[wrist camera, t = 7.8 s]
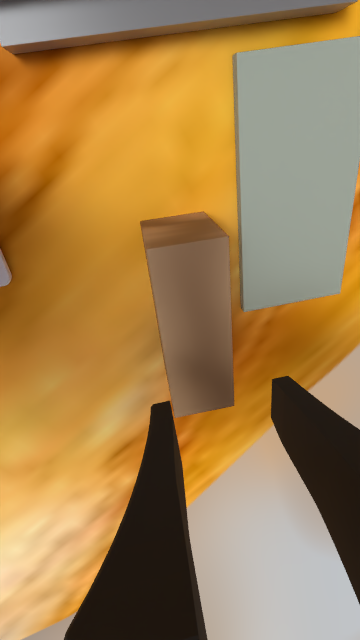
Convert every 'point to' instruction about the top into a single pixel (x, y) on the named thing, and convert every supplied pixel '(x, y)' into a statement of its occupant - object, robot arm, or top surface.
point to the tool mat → (295, 168)
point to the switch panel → (136, 19)
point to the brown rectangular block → (192, 309)
